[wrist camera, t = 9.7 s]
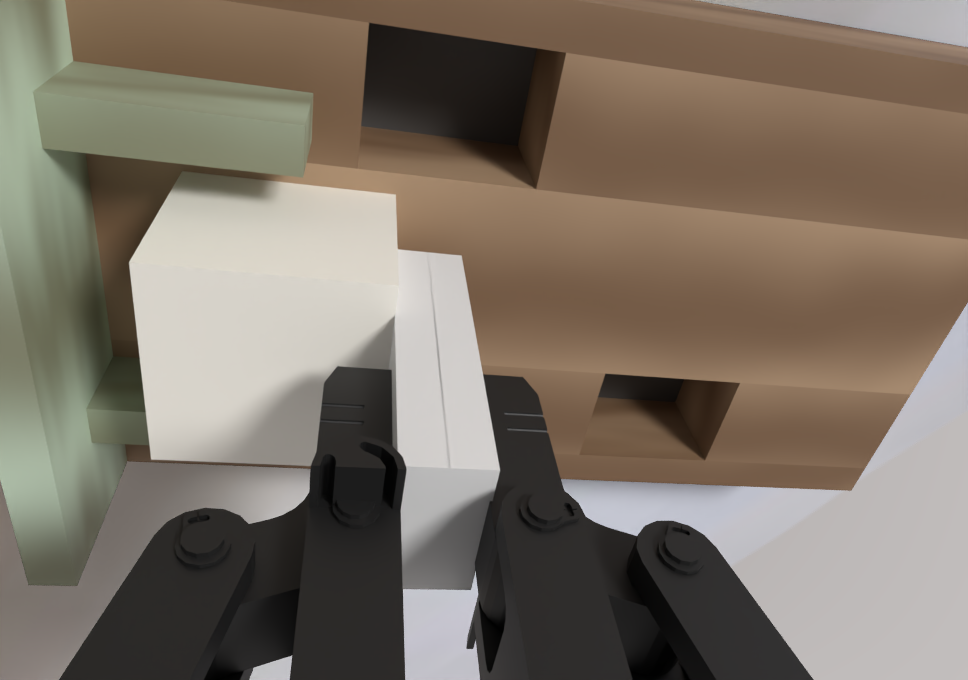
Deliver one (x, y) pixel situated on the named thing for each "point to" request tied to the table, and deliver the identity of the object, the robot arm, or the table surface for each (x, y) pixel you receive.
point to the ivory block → (258, 312)
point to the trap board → (502, 217)
